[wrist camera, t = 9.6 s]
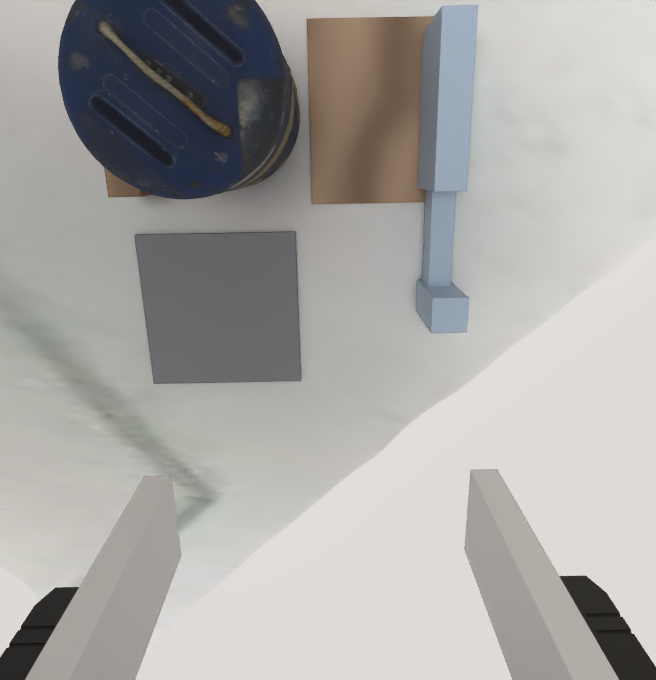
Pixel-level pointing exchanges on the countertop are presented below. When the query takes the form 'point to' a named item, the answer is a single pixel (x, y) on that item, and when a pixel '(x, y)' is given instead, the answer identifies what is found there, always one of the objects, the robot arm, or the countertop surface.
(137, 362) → the countertop surface
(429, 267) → the tie jaw
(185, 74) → the canister
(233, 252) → the mat
